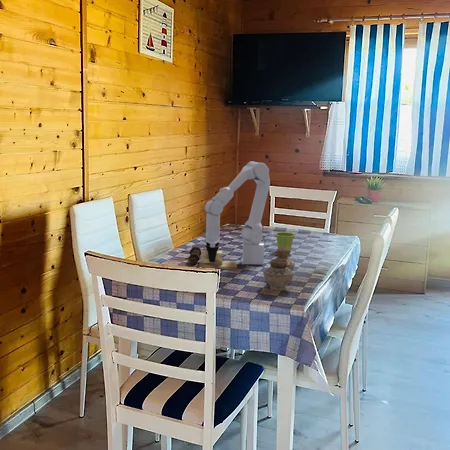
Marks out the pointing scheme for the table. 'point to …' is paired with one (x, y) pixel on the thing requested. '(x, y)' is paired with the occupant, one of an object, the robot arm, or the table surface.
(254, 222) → the robot arm
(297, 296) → the table surface
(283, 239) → the plant pot
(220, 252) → the block
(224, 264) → the board
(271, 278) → the pottery
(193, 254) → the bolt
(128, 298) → the table surface
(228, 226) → the table surface
